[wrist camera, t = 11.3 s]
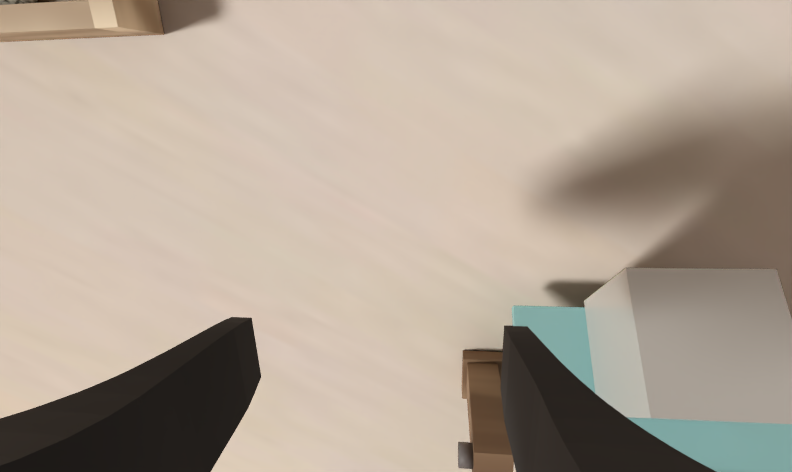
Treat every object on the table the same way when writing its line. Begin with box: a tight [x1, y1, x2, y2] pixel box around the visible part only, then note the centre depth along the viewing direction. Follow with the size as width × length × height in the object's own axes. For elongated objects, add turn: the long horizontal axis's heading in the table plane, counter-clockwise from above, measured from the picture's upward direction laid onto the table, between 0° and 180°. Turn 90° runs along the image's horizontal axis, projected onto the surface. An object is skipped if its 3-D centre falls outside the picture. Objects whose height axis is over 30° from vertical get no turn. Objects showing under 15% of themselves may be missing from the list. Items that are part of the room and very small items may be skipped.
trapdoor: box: [512, 306, 792, 472], centre depth 18 cm, size 11×12×2 cm
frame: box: [458, 350, 514, 472], centre depth 20 cm, size 3×17×7 cm, turn 92°
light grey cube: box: [584, 268, 792, 424], centre depth 17 cm, size 5×5×5 cm
